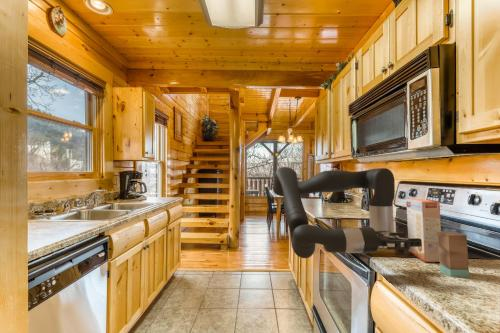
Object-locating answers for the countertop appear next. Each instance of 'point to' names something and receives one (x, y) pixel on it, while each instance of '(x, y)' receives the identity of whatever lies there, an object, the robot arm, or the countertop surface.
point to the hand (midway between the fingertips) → (412, 239)
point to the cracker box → (424, 227)
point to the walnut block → (453, 254)
